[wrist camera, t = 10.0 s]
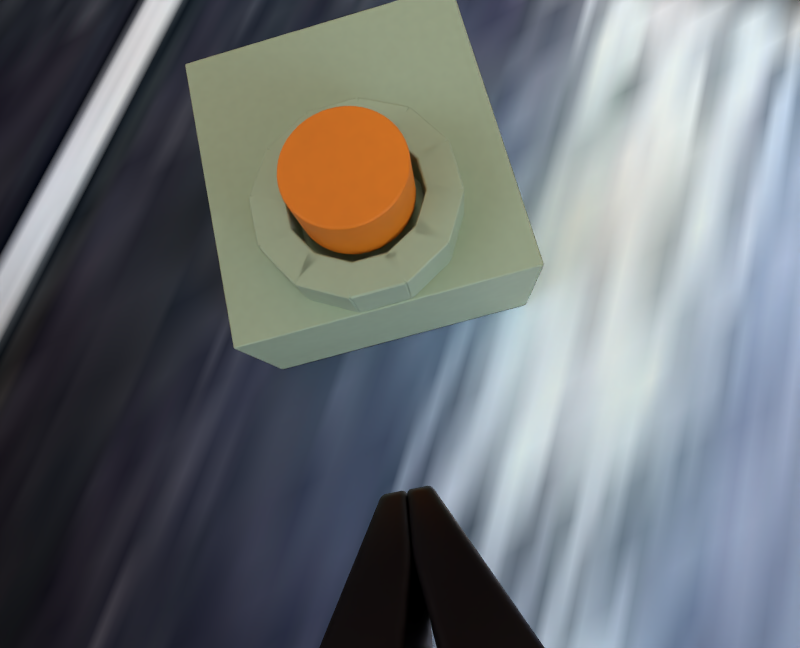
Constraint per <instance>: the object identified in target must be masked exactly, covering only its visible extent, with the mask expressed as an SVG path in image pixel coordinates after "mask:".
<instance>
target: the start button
mask: <svg viewBox="0 0 800 648" xmlns="http://www.w3.org/2000/svg"><path fill="white" fill-rule="evenodd" d="M277 183H278V188H279V191H280V194H281V196H282V198H283V200H284V202H285V204H286V205H287V207H288V208H289V209H290V211H291V212H292V214H293V215H294V216H295V218H296V219H297V220H298V222H299V223H300V225H301V226H302V227H303V229H304V230H305V232H306V233H307V234H308V235H309V236H310V238H311V239H313V240H314V241H315V242H316V243H317V244H319V245H320V246H322V247H324V248H326V249H328V250H330V251H333V252H337V253H342V254H363V253H367V252H371V251H374V250H377V249H379V248H381V247H383V246H385V245H386V244H388V243H389V242H391V241H392V240H393V239H395V238H396V237H397V236H398V235H399V234H400V233H401V232H402V231H403V229H404V228H405V227H406V225H407V224H408V222H409V220H410V218H411V216H412V213H413V211H414V207H415V202H416V187H415V181H414V175H413V170H412V164H411V158H410V153H409V148H408V145H407V143H406V140H405V138H404V136H403V134H402V133H401V132H400V130H399V129H398V127H397V126H396V125H395V124H394V123H393V122H392V121H390V120H389V119H388V118H386V117H385V116H384V115H382V114H380V113H378V112H376V111H373V110H371V109H368V108H364V107H358V106H339V107H333V108H329V109H326V110H323V111H320V112H318V113H316V114H314V115H312V116H311V117H309V118H307V119H306V120H305V121H303V122H302V123H301V124H300V125H298V126H297V127H296V129H295V130H294V131H293V132H292V133H291V134H290V136H289V137H288V138H287V140H286V142H285V143H284V145H283V147H282V150H281V152H280V155H279V159H278V164H277Z"/></svg>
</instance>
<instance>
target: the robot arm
mask: <svg viewBox="0 0 800 648" xmlns="http://www.w3.org/2000/svg"><path fill="white" fill-rule="evenodd" d="M431 627H432V631H433V635H434V638H435V642H436V646H437V648H544V646H543V645H542V643H541V642H540V641H539V639H538V638H537V636H536V635H535V633H534V632H533V630H532V629H531V628H530V626H529V625H528V623H527V622H526V620H525V619H524V618H523V616H522V615H521V613H520V612H519V610H518V609H517V608H516V606H515V605H514V603H513V602H512V600H511V599H510V597H509V596H508V595H507V593H506V592H505V590H504V589H503V587H502V586H501V585H500V583H499V582H498V580H497V579H496V577H495V576H494V575H493V573H492V572H491V570H490V569H489V567H488V566H487V565H486V563H485V562H484V560H483V559H482V557H481V556H480V554H479V553H478V552H477V550H476V549H475V547H474V546H473V544H472V543H471V542H470V540H469V539H468V537H467V536H466V534H465V533H464V532H463V530H462V529H461V527H460V526H459V524H458V523H457V521H456V520H455V519H454V517H453V516H452V514H451V513H450V511H449V510H448V509H447V507H446V506H445V504H444V503H443V501H442V500H441V499H440V497H439V496H438V494H437V493H436V491H435V490H434V489H433V488H432V487H431V486H425V487H420V488H415V489H410V490H409V491H408V493H406V492H404V491H399V492H394V493H389V494H384V495H383V496H382V497H381V498H380V500H379V503H378V505H377V508H376V510H375V512H374V515H373V517H372V520H371V522H370V525H369V527H368V530H367V532H366V535H365V537H364V539H363V542H362V544H361V547H360V549H359V552H358V554H357V557H356V559H355V562H354V564H353V566H352V569H351V571H350V574H349V576H348V579H347V581H346V584H345V586H344V589H343V591H342V593H341V596H340V598H339V601H338V603H337V606H336V608H335V611H334V613H333V616H332V618H331V620H330V623H329V625H328V628H327V630H326V633H325V635H324V638H323V640H322V643H321V645H320V647H319V648H433V646H432V631H431Z"/></svg>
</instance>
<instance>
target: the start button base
mask: <svg viewBox="0 0 800 648" xmlns="http://www.w3.org/2000/svg"><path fill="white" fill-rule="evenodd" d="M185 66H186V72H187V78H188V84H189V89H190V95H191V101H192V107H193V113H194V119H195V124H196V130H197V136H198V142H199V148H200V154H201V159H202V165H203V171H204V177H205V183H206V189H207V194H208V200H209V206H210V212H211V218H212V224H213V229H214V235H215V241H216V247H217V253H218V259H219V264H220V270H221V276H222V282H223V288H224V294H225V299H226V305H227V311H228V317H229V323H230V329H231V334H232V340H233V346H234V349H237V350H239V351H241V352H244V353H246V354H248V355H251V356H253V357H255V358H257V359H260V360H262V361H264V362H267V363H269V364H271V365H274V366H276V367H278V368H281V369H286V368H290V367H293V366H297V365H301V364H305V363H308V362H312V361H316V360H320V359H323V358H327V357H331V356H335V355H338V354H342V353H346V352H350V351H353V350H357V349H361V348H365V347H368V346H372V345H376V344H380V343H384V342H387V341H391V340H395V339H399V338H402V337H406V336H410V335H414V334H417V333H421V332H425V331H429V330H432V329H436V328H440V327H444V326H447V325H451V324H455V323H459V322H462V321H466V320H470V319H474V318H477V317H481V316H485V315H489V314H492V313H496V312H500V311H504V310H508V309H511V308H515V307H519V306H523V305H525V304H526V303H527V301H528V298H529V296H530V294H531V292H532V290H533V287H534V285H535V283H536V281H537V278H538V276H539V274H540V272H541V270H542V267H543V261H542V258H541V255H540V252H539V249H538V246H537V243H536V240H535V237H534V234H533V231H532V228H531V225H530V222H529V219H528V216H527V213H526V210H525V207H524V204H523V201H522V198H521V195H520V192H519V189H518V186H517V182H516V179H515V176H514V173H513V170H512V167H511V164H510V161H509V158H508V155H507V152H506V149H505V146H504V143H503V140H502V137H501V134H500V131H499V128H498V125H497V122H496V119H495V116H494V113H493V110H492V107H491V104H490V101H489V98H488V95H487V92H486V89H485V86H484V83H483V80H482V77H481V74H480V71H479V68H478V65H477V62H476V59H475V56H474V53H473V50H472V47H471V44H470V41H469V38H468V35H467V32H466V29H465V26H464V23H463V20H462V17H461V14H460V11H459V8H458V5H457V2H456V0H398V1H395V2H391V3H388V4H385V5H381V6H378V7H375V8H371V9H368V10H365V11H361V12H358V13H355V14H351V15H348V16H345V17H341V18H338V19H335V20H331V21H328V22H325V23H321V24H318V25H315V26H311V27H308V28H305V29H301V30H298V31H295V32H291V33H288V34H285V35H281V36H278V37H275V38H271V39H268V40H265V41H261V42H258V43H255V44H251V45H248V46H245V47H241V48H238V49H235V50H231V51H228V52H225V53H221V54H218V55H215V56H211V57H208V58H205V59H201V60H198V61H195V62H191V63H188V64H186V65H185ZM339 106H358V107H364V108H368V109H371V110H373V111H376V112H378V113H380V114H382V115H384V116H385V117H386V118H388V119H389V120H390V121H392V122H393V123H394V124H395V125H396V126H397V127H398V129H399V130H400V132H401V133H402V134H403V136H404V138H405V140H406V143H407V145H408V148H409V153H410V158H411V164H412V170H413V175H414V181H415V187H416V202H415V207H414V211H413V213H412V216H411V218H410V220H409V222H408V224H407V225H406V227H405V228H404V229H403V231H402V232H401V233H400V234H399V235H398V236H397V237H396V238H395V239H393V240H392V241H391V242H389V243H388V244H386V245H385V246H383V247H381V248H379V249H377V250H374V251H371V252H367V253H363V254H342V253H337V252H333V251H330V250H328V249H326V248H324V247H322V246H320V245H319V244H317V243H316V242H315V241H314V240H313V239H311V238H310V236H309V235H308V234H307V233H306V232H305V230H304V229H303V227H302V226H301V225H300V223H299V222H298V220H297V219H296V218H295V216H294V215H293V214H292V212H291V211H290V209H289V208H288V207H287V205H286V204H285V202H284V200H283V198H282V196H281V194H280V191H279V188H278V183H277V164H278V159H279V155H280V152H281V150H282V147H283V145H284V143H285V142H286V140H287V138H288V137H289V136H290V134H291V133H292V132H293V131H294V130H295V129H296V127H297V126H298V125H300V124H301V123H302V122H303V121H305V120H306V119H307V118H309V117H311V116H312V115H314V114H316V113H318V112H320V111H323V110H326V109H329V108H333V107H339Z"/></svg>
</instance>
